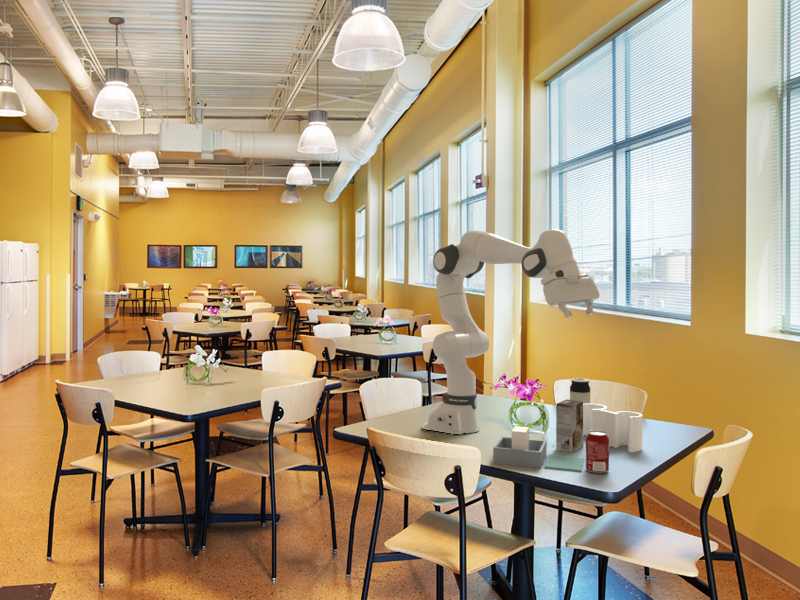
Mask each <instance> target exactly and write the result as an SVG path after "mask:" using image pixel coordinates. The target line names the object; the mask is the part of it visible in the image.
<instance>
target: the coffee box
mask: <svg viewBox="0 0 800 600" xmlns="http://www.w3.org/2000/svg"><path fill="white" fill-rule="evenodd" d="M555 410H556V413H555V414H556V417H555V418H556V420H555V422H556V423H555V424H556V425H555V427H556V428H555V430H556V431H555V435H556V436H555V445H556V446H555V449H556V450H559V451H564V452H569V453H574V452H575V451H578V450H579V449H582V448H583V447H584V436H583V402H580V401H575V400H570V399H565V400H562V401H560V402H557V403H556V409H555Z"/></svg>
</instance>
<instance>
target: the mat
mask: <svg viewBox="0 0 800 600" xmlns="http://www.w3.org/2000/svg"><path fill="white" fill-rule="evenodd" d="M584 460H585V458H584V457H578V456H576V457H575V456H568V455H558V454H549V455H548V457H547V459H546V461H545V464H544V469H548V470H549V469H550V470H560V471H566V472H567V471H569V472H570V471H571V472H579V473H582V470H583V466H584V462H585V461H584Z"/></svg>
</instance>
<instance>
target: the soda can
mask: <svg viewBox="0 0 800 600" xmlns="http://www.w3.org/2000/svg"><path fill="white" fill-rule="evenodd" d="M609 467H610V446H609V438H608V437H607V433H606V432H604V431H599V430H591V431H588V435H587V436H586V437H585V470H587V471H588V472H590V473H591V472H592V473H593V474H596V473H597V474H598V475H603V474H605V473H608V472H609V470H610V469H609ZM597 474H596V475H597Z"/></svg>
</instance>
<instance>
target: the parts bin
mask: <svg viewBox="0 0 800 600" xmlns="http://www.w3.org/2000/svg"><path fill="white" fill-rule="evenodd" d="M492 448H493V456H492V457H493V458H492V459H493V462H492V463H493V464H498V463H499V465H507V464H509V466H516V465H518V466H519V467H525V466H527V468H528V467H529V468H538V469H542V467H543V464H544V463H545V460H546V457H547V440H543V439H542V440H540V439H532V438H531V439H530V438H529V450H520V449H512V437H507V436H500V438H499V440H498V441H497V442H496V444H495V445H493V447H492Z"/></svg>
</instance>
